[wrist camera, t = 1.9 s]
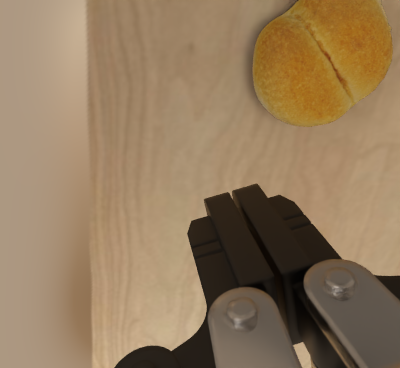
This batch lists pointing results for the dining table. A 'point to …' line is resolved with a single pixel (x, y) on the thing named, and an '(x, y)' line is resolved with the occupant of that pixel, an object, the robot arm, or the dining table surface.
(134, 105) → the dining table surface
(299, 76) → the bread roll
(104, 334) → the dining table surface
